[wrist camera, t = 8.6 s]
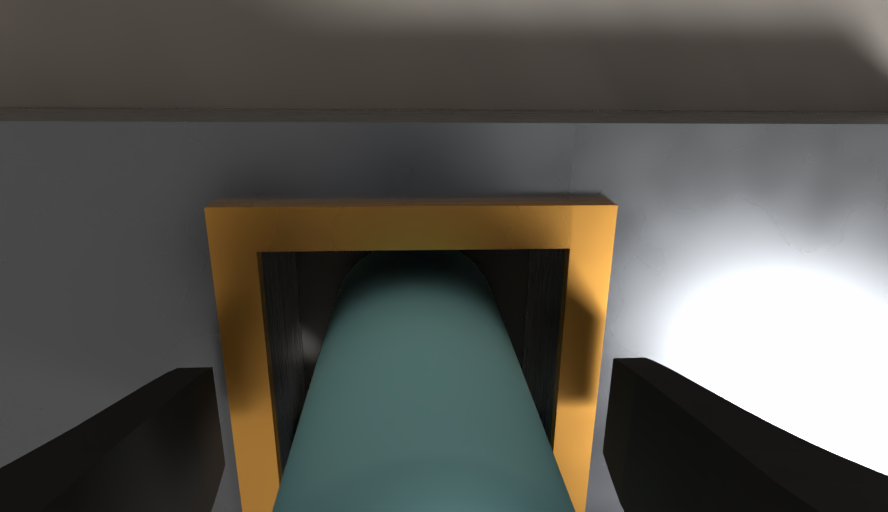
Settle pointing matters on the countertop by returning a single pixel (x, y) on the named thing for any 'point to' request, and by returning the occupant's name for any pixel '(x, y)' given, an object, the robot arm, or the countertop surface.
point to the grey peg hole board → (447, 228)
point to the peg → (419, 400)
